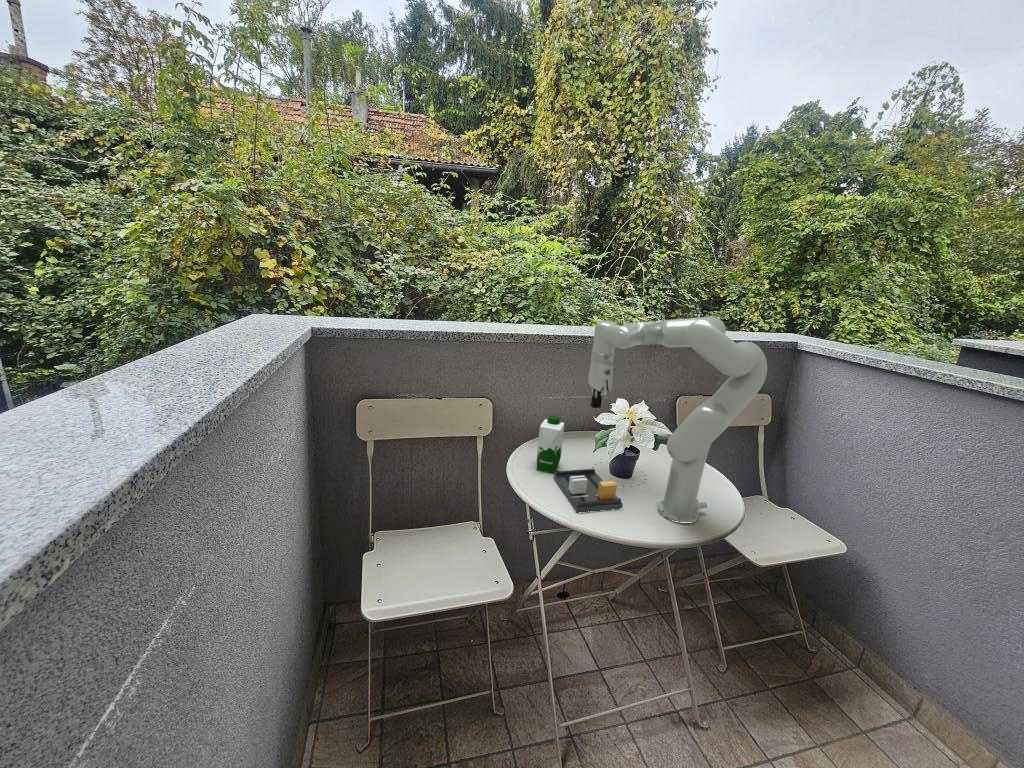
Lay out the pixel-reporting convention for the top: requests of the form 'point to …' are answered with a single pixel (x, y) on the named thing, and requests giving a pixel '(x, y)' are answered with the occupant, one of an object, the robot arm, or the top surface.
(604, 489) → the block
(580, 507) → the panel
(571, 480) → the block
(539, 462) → the milk carton
